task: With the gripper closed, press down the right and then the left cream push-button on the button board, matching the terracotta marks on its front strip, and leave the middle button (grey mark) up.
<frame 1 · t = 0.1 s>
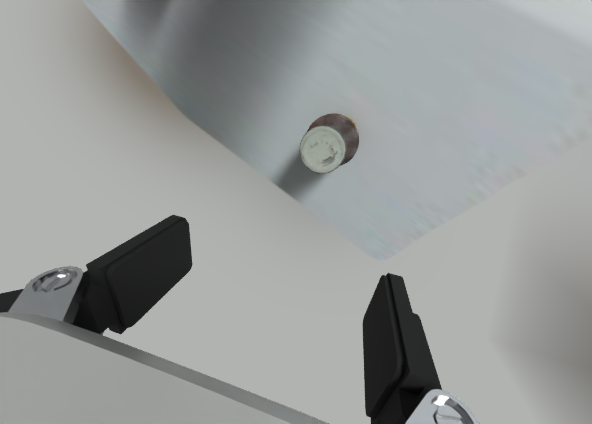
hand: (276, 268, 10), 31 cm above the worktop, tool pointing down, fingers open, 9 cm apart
sauce bottle: (338, 133, 37), on the worktop
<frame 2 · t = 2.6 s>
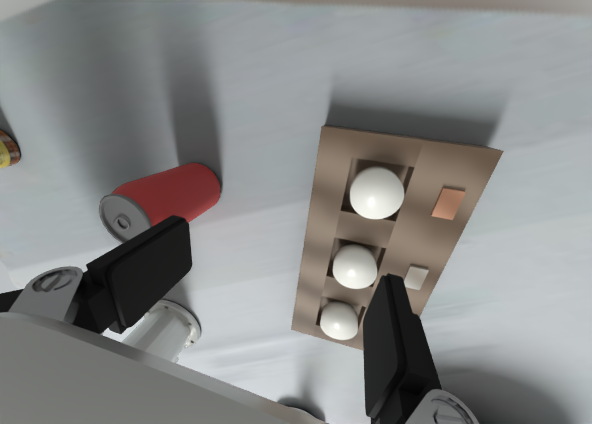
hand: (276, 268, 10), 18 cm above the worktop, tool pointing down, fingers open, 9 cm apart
middle button: (354, 266, 27), point 4 cm above the worktop, slide at 0.0 cm
flower in vase: (297, 412, 50), on the worktop
button board: (365, 252, 30), on the worktop
sauce bottle: (10, 147, 37), on the worktop
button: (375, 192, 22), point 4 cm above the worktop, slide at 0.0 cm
beer can: (202, 184, 31), on the worktop
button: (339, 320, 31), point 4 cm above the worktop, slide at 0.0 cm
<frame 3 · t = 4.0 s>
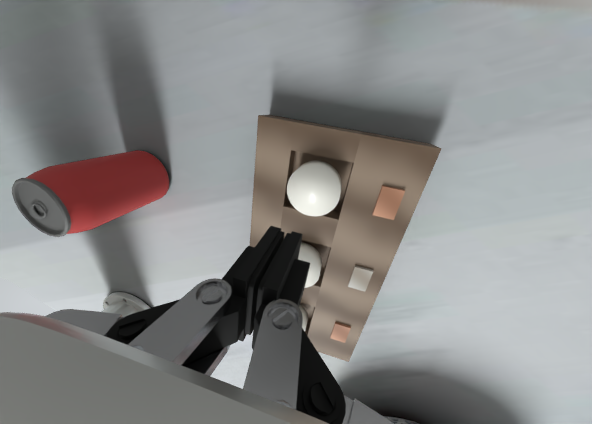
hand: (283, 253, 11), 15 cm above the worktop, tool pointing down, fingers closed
middle button: (299, 265, 26), point 4 cm above the worktop, slide at 0.0 cm
button board: (316, 250, 29), on the worktop
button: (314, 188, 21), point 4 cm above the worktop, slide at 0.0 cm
beer can: (151, 174, 30), on the worktop
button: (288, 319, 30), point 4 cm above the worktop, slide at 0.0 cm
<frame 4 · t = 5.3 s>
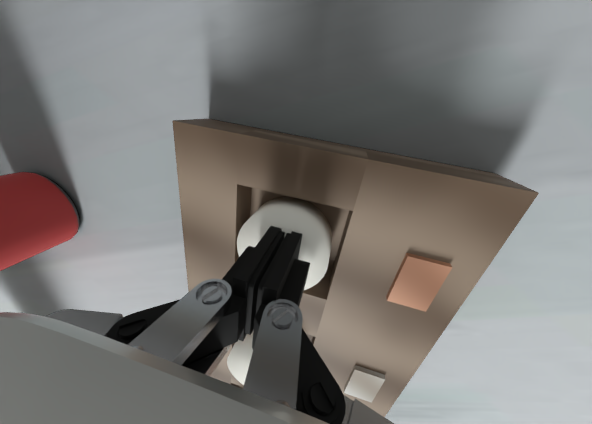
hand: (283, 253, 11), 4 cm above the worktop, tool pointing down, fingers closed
middle button: (265, 358, 16), point 4 cm above the worktop, slide at 0.0 cm
button board: (297, 321, 19), on the worktop
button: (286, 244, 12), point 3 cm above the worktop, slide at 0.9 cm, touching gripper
beer can: (56, 204, 20), on the worktop
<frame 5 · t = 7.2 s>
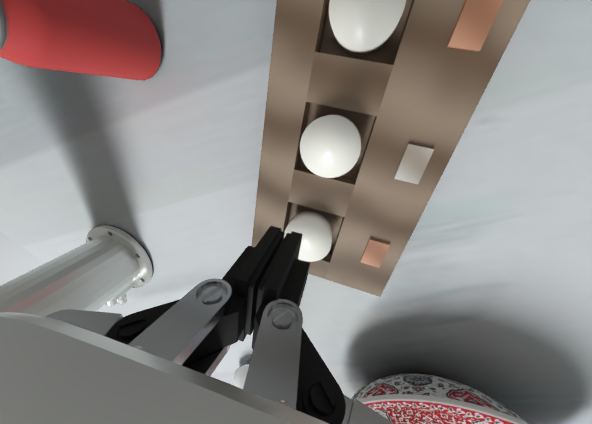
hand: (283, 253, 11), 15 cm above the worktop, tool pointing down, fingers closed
middle button: (330, 146, 19), point 4 cm above the worktop, slide at 0.0 cm
flower in vase: (263, 372, 44), on the worktop
button board: (349, 144, 22), on the worktop
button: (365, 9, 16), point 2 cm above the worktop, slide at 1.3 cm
beer can: (139, 45, 23), on the worktop
ceramic bowl: (422, 396, 35), on the worktop
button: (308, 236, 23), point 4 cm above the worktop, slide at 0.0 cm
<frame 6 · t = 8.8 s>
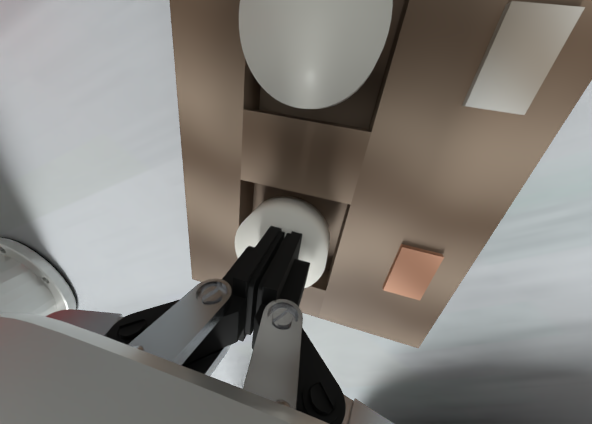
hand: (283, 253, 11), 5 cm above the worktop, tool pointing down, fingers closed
middle button: (314, 33, 8), point 4 cm above the worktop, slide at 0.0 cm
button board: (354, 59, 11), on the worktop
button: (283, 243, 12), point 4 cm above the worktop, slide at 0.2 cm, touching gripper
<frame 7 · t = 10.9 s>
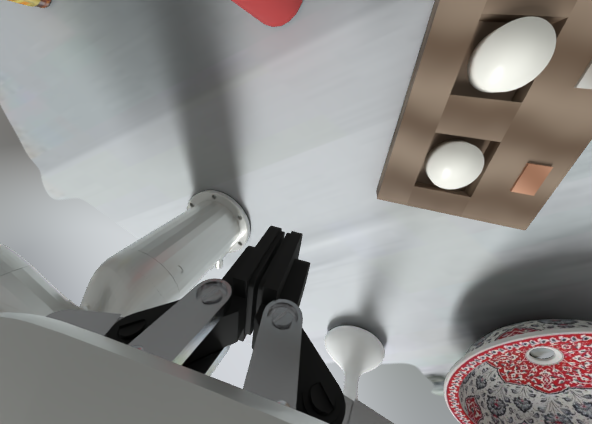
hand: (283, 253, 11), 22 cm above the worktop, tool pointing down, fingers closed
middle button: (507, 58, 19), point 4 cm above the worktop, slide at 0.0 cm
flower in vase: (353, 335, 44), on the worktop
button board: (504, 66, 21), on the worktop
ceramic bowl: (539, 350, 34), on the worktop
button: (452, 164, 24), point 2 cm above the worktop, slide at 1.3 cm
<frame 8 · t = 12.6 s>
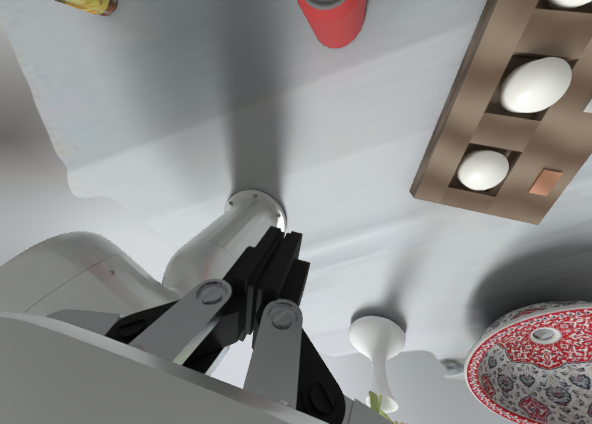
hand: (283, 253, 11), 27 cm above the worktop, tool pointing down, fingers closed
middle button: (532, 87, 24), point 4 cm above the worktop, slide at 0.0 cm
flower in vase: (374, 326, 48), on the worktop
button board: (524, 91, 27), on the worktop
beer can: (338, 18, 28), on the worktop
ceramic bowl: (541, 331, 39), on the worktop
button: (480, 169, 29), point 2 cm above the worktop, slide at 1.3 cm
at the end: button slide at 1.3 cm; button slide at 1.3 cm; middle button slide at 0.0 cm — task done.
